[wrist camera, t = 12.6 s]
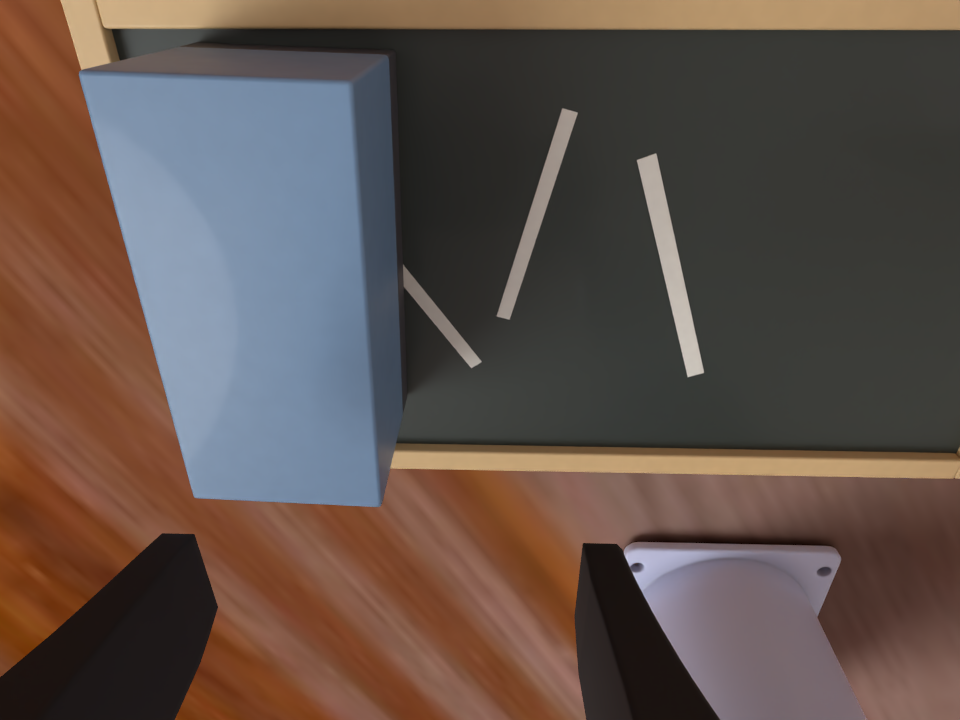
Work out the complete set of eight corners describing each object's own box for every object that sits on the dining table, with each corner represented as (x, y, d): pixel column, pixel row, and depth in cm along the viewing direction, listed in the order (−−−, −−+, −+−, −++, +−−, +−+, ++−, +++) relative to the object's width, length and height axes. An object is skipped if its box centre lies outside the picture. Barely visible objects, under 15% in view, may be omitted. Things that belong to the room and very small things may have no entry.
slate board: (960, 460, 22) (979, 480, 21) (209, 447, 23) (198, 465, 22) (1199, -12, 15) (1242, -11, 14) (80, -12, 15) (56, -11, 14)
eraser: (407, 396, 20) (381, 509, 16) (258, 389, 20) (192, 499, 16) (396, 49, 15) (353, 80, 11) (195, 42, 15) (74, 69, 11)
